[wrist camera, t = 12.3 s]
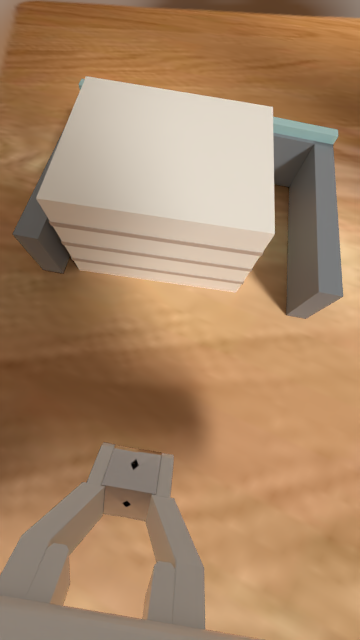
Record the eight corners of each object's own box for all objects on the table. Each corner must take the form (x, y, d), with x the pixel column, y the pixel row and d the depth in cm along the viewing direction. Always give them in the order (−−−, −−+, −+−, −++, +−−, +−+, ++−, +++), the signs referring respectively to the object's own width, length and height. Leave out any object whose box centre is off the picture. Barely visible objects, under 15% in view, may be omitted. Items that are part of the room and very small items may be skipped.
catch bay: (304, 178, 23) (337, 126, 19) (305, 318, 18) (350, 292, 14) (97, 137, 23) (83, 75, 19) (43, 269, 18) (6, 227, 14)
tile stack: (240, 194, 22) (273, 106, 16) (235, 294, 19) (275, 234, 12) (108, 174, 22) (85, 75, 15) (79, 272, 19) (34, 198, 12)
